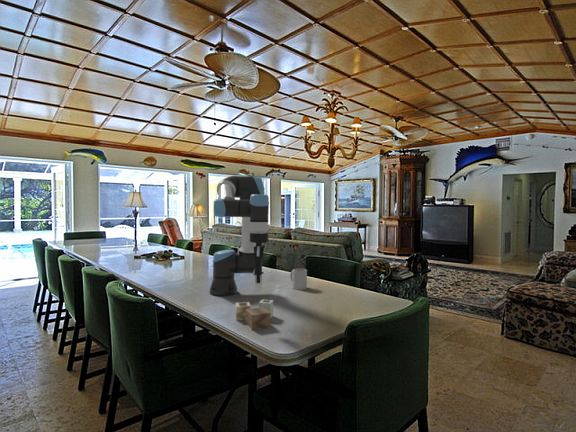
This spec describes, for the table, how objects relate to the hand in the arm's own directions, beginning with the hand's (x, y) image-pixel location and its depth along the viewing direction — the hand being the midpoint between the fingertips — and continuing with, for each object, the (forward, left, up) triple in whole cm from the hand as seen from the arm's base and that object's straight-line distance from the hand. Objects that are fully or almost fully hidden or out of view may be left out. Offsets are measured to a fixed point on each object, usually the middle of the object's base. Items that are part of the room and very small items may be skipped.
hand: (258, 290), depth 139 cm
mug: (+20, +65, -15) cm, 69 cm away
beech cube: (-7, +9, -15) cm, 19 cm away
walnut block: (0, 0, -15) cm, 15 cm away
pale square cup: (+3, +10, -14) cm, 18 cm away
